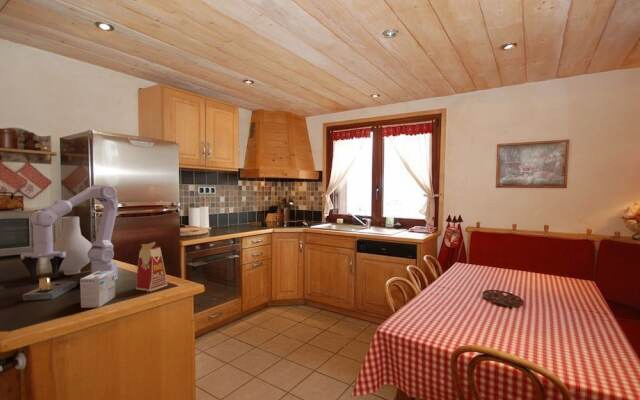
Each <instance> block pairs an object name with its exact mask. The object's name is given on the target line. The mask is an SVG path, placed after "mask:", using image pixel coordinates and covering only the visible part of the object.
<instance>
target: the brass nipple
mask: <svg viewBox="0 0 640 400" xmlns="http://www.w3.org/2000/svg"><path fill="white" fill-rule="evenodd" d="M38 280H39V281H38V282H39V283H38V284H39V287H38V288H39V289H40V293H44V292H49V291H50V282H51V277H42V278H39V279H38Z"/></svg>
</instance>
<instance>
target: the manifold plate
mask: <svg viewBox="0 0 640 400" xmlns="http://www.w3.org/2000/svg"><path fill="white" fill-rule="evenodd" d="M77 285H78V283H77V281H76V280H75V281H74V280H72V281H50V291H49V292H44V293H40V289H39V287H37V288H34V289H33V290H30V291H29V292H25V293H24V294H22V301H23V302H24V301H40V300H41V301H42V300H43V301H44V300H54V299H55V298H57V297H59V296H61V295H63V294H65V293H67V292H68V291H70V290H73V289H74V288H76V287H77Z"/></svg>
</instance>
